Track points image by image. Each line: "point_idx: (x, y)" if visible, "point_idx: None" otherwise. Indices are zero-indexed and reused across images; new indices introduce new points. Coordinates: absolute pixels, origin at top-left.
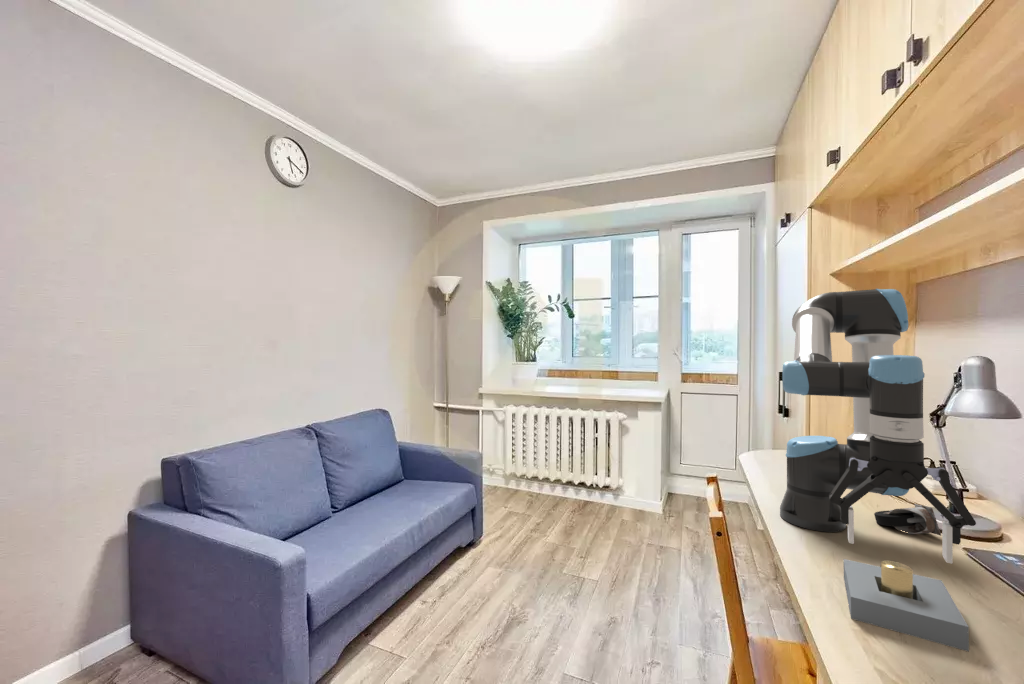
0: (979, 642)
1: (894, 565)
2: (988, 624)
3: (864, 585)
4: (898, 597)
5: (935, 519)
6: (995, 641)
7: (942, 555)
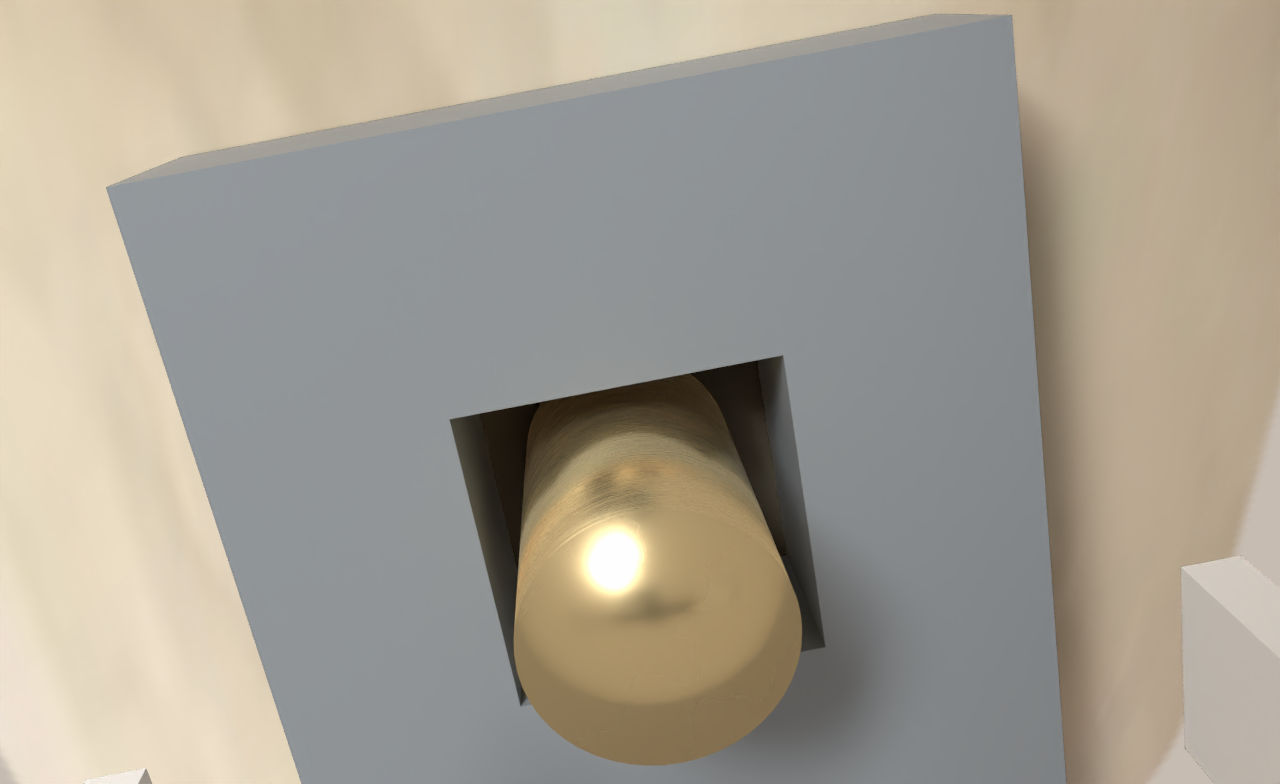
0: (1076, 538)
1: (638, 623)
2: (1190, 205)
3: (407, 689)
4: None
5: None
6: (1171, 449)
7: (1184, 575)
